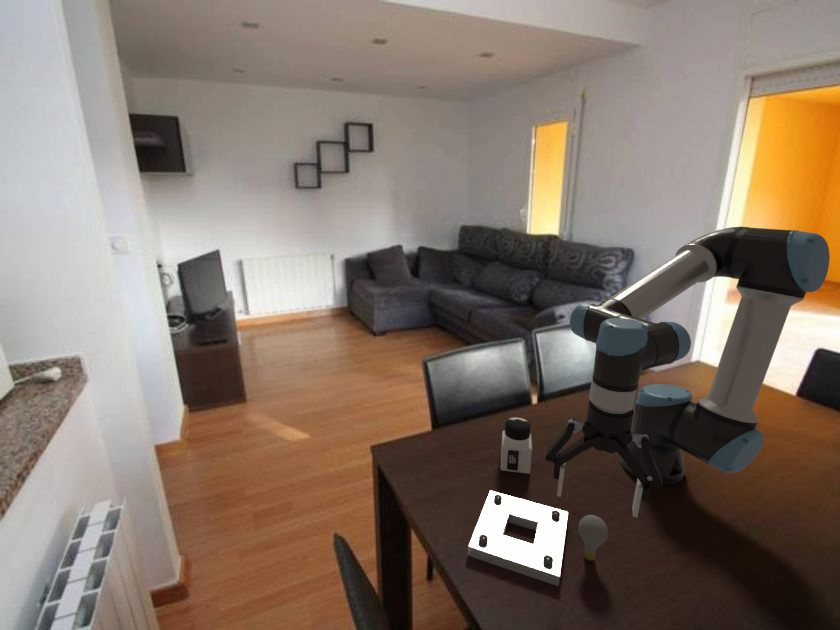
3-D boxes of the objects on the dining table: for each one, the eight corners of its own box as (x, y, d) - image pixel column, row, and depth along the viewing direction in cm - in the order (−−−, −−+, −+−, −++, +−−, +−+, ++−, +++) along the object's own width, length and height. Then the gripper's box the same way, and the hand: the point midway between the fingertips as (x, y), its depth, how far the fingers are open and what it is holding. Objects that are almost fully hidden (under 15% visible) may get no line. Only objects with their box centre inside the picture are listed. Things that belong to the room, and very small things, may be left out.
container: (530, 474, 112) (533, 431, 108) (500, 470, 114) (503, 428, 110) (529, 456, 119) (532, 415, 116) (501, 453, 121) (503, 413, 117)
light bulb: (570, 548, 89) (575, 509, 87) (595, 546, 90) (601, 507, 87) (581, 571, 84) (587, 530, 81) (608, 569, 85) (615, 528, 82)
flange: (567, 520, 97) (568, 509, 96) (558, 586, 81) (560, 573, 80) (489, 498, 104) (490, 487, 103) (467, 555, 88) (468, 543, 87)
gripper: (687, 408, 75) (666, 507, 81) (542, 383, 85) (533, 473, 91) (695, 430, 69) (671, 536, 75) (537, 399, 78) (527, 496, 84)
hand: (595, 502), depth 83 cm, fingers open, 13 cm apart
